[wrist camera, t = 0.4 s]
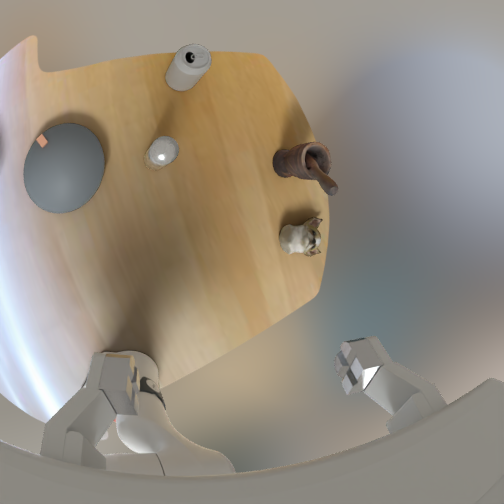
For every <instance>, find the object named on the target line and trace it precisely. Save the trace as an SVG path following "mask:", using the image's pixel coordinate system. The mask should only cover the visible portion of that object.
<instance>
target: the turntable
mask: <svg viewBox="0 0 504 504" xmlns="http://www.w3.org/2000/svg"><path fill="white" fill-rule="evenodd" d="M104 165H105V162H104V154H103V150H102V147H101V144H100V142H99V140H98V139H97V137H96V136H95V135H94V134H93V133H92V132H91V131H90V130H89V129H87V128H86V127H84V126H81V125H78V124H74V123H65V124H60V125H56V126H54V127H52V128H50V129H48V130H46V131H45V132H44V133H42V134H41V135H40V136H39V137H38V138H37V139H36V141H35V142H34V143H33V145H32V146H31V148H30V150H29V152H28V154H27V157H26V160H25V164H24V183H25V187H26V190H27V193H28V195H29V196H30V198H31V199H32V201H33V202H34V203H35V204H36V205H37V206H38V207H40V208H41V209H43V210H45V211H48V212H52V213H66V212H70V211H73V210H76V209H78V208H79V207H81V206H83V205H84V204H85V203H87V202H88V201H89V200H90V199H91V198H92V196H93V195H94V194H95V192H96V191H97V189H98V187H99V186H100V183H101V181H102V177H103V173H104Z"/></svg>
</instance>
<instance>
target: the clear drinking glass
mask: <svg viewBox="0 0 504 504" xmlns="http://www.w3.org/2000/svg"><path fill="white" fill-rule="evenodd" d="M178 153H179V147H178V144H177V142H176V141H175V140H174V139H173V138H171V137H169V136H162V137H159V138H157V139H156V140H155V141H154V142H153V143H152V145H151V146H150V148H149V149H148V150H147V152H146V153H145V155H144V163H145V165H146V167H147V168H149V169H151V170H159V169H161V168H163V167H164V166H166V165H168V164H169V163H171V162H173V161H174V160H175V159H176V157H177V156H178Z"/></svg>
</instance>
